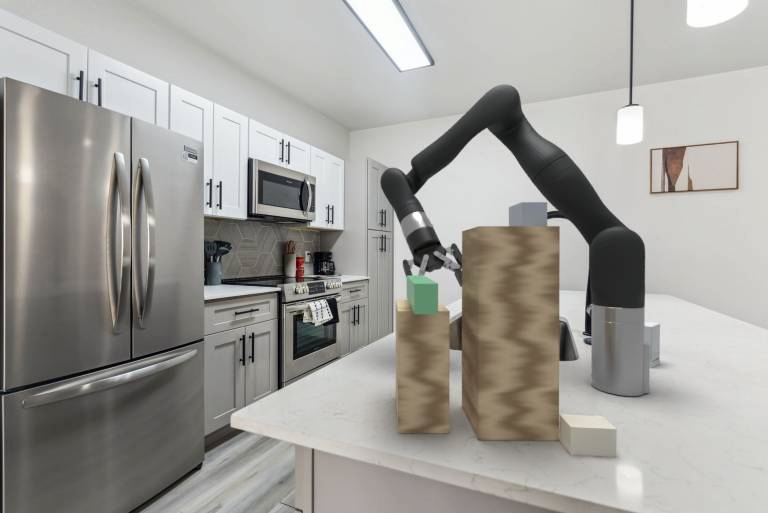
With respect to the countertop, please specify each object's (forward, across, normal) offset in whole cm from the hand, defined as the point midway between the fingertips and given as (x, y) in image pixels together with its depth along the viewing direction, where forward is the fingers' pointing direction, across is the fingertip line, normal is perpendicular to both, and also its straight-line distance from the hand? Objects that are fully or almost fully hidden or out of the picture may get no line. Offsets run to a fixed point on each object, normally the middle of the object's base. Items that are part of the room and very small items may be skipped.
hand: (445, 291), depth 83 cm
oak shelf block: (+28, +2, +11) cm, 30 cm away
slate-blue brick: (+3, -11, +26) cm, 28 cm away
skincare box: (+28, -43, -22) cm, 55 cm away
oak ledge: (+22, +15, +9) cm, 29 cm away
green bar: (+7, +10, +18) cm, 21 cm away
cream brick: (+35, -5, +18) cm, 39 cm away
